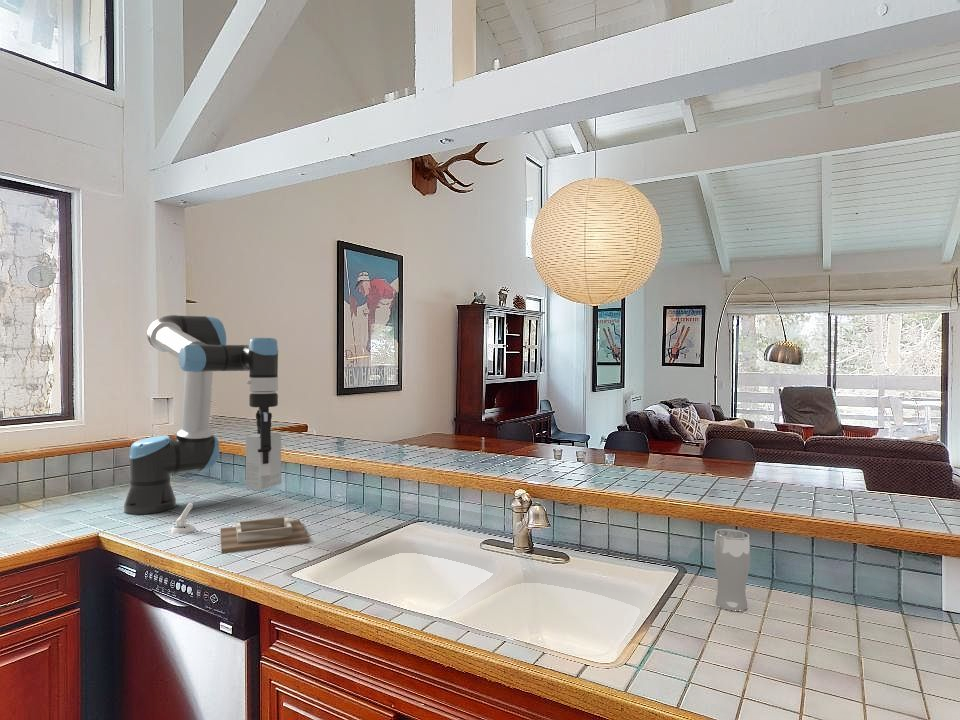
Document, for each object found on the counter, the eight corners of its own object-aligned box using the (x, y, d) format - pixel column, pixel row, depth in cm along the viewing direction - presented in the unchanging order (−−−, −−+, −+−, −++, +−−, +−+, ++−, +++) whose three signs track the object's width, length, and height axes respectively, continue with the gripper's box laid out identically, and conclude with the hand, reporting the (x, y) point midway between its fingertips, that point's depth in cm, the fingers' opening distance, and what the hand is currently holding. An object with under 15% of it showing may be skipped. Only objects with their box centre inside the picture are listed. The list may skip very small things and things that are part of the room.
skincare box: (265, 482, 172) (265, 431, 172) (282, 484, 170) (282, 432, 170) (244, 488, 164) (244, 435, 164) (261, 490, 162) (261, 436, 162)
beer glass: (707, 599, 126) (708, 528, 126) (738, 598, 126) (739, 528, 126) (723, 613, 119) (724, 539, 119) (756, 612, 119) (757, 538, 119)
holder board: (220, 531, 172) (220, 519, 172) (299, 523, 181) (299, 511, 181) (221, 552, 153) (221, 539, 153) (308, 542, 163) (308, 529, 162)
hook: (201, 519, 170) (183, 508, 168) (183, 545, 171) (165, 535, 170) (209, 508, 176) (191, 498, 174) (191, 534, 177) (174, 524, 176)
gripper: (247, 390, 175) (247, 466, 175) (251, 395, 155) (251, 480, 155) (274, 390, 178) (274, 464, 179) (281, 394, 158) (281, 478, 158)
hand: (263, 471), depth 167 cm, fingers closed on skincare box, 10 cm apart
